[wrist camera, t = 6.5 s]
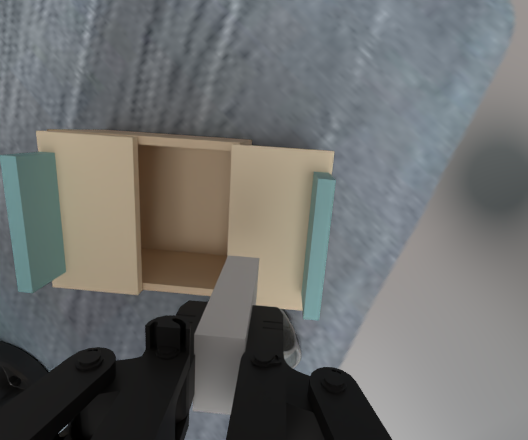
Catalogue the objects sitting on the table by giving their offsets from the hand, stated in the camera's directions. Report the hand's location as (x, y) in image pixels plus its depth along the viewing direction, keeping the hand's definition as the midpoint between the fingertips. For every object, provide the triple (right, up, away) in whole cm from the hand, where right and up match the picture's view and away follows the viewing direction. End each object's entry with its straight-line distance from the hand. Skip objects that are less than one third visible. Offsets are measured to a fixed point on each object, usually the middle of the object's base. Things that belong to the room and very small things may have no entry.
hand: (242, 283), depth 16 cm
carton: (-7, +5, +17) cm, 19 cm away
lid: (+2, +2, +8) cm, 9 cm away
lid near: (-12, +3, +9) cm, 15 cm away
